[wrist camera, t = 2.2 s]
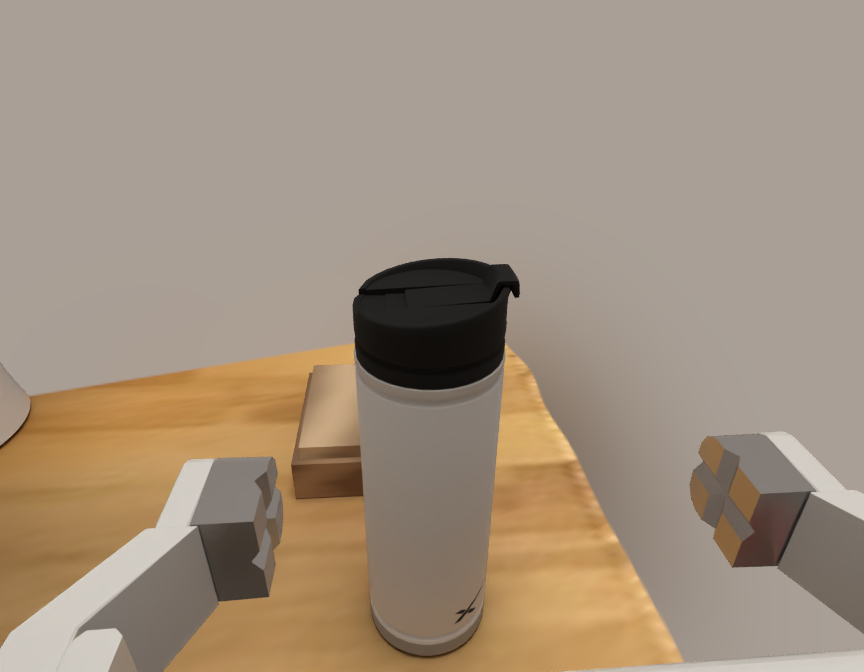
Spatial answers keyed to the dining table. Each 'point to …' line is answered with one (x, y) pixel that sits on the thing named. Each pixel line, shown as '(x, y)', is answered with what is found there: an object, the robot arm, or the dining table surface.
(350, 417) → the plinth
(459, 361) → the travel mug
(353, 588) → the dining table surface
